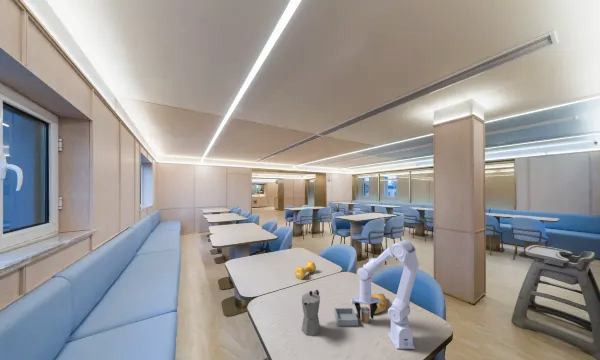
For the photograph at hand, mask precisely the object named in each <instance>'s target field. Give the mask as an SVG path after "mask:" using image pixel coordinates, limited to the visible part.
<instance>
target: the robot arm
mask: <svg viewBox="0 0 600 360" xmlns="http://www.w3.org/2000/svg"><path fill="white" fill-rule="evenodd" d="M416 251H417V250H416V248H415V246H414V245H413V243H412V242H411V241H409V240H407V239H403V240H401V241H399V242H395V243H393V244H392V245H390V246H389V247H387V248H386V249H384V251H383V252H382V253H381V254H379V255H378V257H377V258H375V257H371V258H369V259H368V262H367V263H364V264H362V265H363V266H362V267H359V268H358V269H357V272H356V273H357V277H358V279H359V296H357V297H354V298H353V297H352V298H350V304H351V305H354V307H355V310H356V313H357V319H358V320H361V308H362V307H361V304H364V305H369V304H370V305H369V309H370V319H372V320H373V319H374V317H375V314H376V313H375V311H376V309H377V308H378V306H377V303H378V304H380V300H379V298H371V295H372V277H373V276H374V275H375V274H376V273H377V272H378V271H379V270H381V269H382V266H383V265H382V264H384V263H385V262H386V261H387V260H389V259H390V258H396V259H397V260H398V261H399V262H400V263H401V264H402V265H403V270H402V274H401V277H400V280H399V281H400V282H399V285H398V287H397V288H398V289H397V292H396V295H395V299H394V300H393V302H392V304H391V306H390V307H389V308H388V309H387V315H388V317H389V319H390V331H387V332H386V333H387V335H388V337H389V339H390V341H391V342H392V343H393V345H394V347H395V349H397V350H403V349H404V350H406V349H407V350H409V349H411V350H412V349H414V350H415V348H416V346H415V345H414V341H413V340H414V339H413V338H414V337H413V336H414V335H413V332H412V330H411V328H410V326H409V318H408V315H410V313H411V308H410V305H411V302H410V298H411V294H412V291H413V288H414V285H415V280H416V276H417V274H418V271H419V267H420V265H419V260H418V257H417V253H416ZM374 313H375V314H374Z"/></svg>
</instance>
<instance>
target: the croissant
mask: <svg viewBox="0 0 600 360" xmlns="http://www.w3.org/2000/svg"><path fill="white" fill-rule="evenodd" d="M371 298H379V300H380V304H378V303H377V306H378V308H377V309H376V311H375V313H374V315H375V314H379V313H382V312H384V311H386V309H387V304H388V301H387V298H386V296H385V294H384V293H373V294H372V293H371ZM368 305H369V306H370V304H368Z"/></svg>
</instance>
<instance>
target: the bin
mask: <svg viewBox="0 0 600 360" xmlns="http://www.w3.org/2000/svg"><path fill="white" fill-rule="evenodd" d="M333 311H334V312H333V314H334V317H335V322H336V323H337V326H338V327H359V318H358V315H357V314H356V312H355V309H354V308H353V307H334V308H333Z"/></svg>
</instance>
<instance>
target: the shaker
mask: <svg viewBox="0 0 600 360" xmlns="http://www.w3.org/2000/svg"><path fill="white" fill-rule="evenodd" d="M360 314H361V319H360V320H361V322H362V323H363V324H366V325H367V324H370V319H371V317H370V307H367V306H362V307H361V312H360Z"/></svg>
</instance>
